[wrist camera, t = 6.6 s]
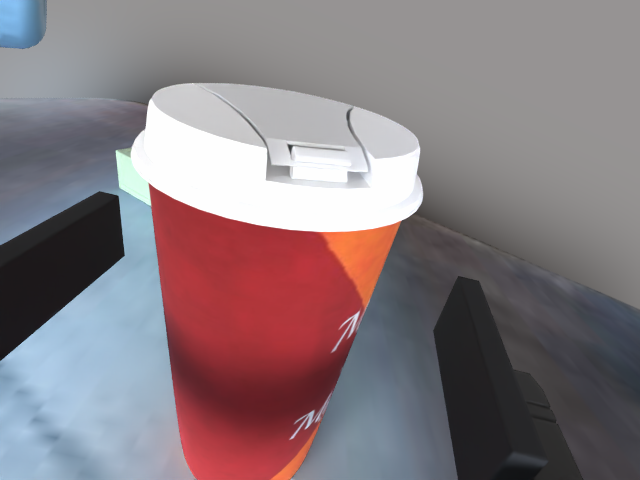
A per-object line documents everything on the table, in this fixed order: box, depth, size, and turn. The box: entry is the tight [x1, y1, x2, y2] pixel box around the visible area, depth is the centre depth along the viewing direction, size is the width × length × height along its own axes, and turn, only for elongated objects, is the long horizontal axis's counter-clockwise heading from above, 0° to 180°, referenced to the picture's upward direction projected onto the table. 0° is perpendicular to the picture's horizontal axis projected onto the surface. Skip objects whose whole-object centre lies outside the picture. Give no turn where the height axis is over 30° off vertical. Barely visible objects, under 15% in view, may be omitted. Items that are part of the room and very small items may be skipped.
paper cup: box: [131, 83, 423, 480], centre depth 13 cm, size 8×8×14 cm
